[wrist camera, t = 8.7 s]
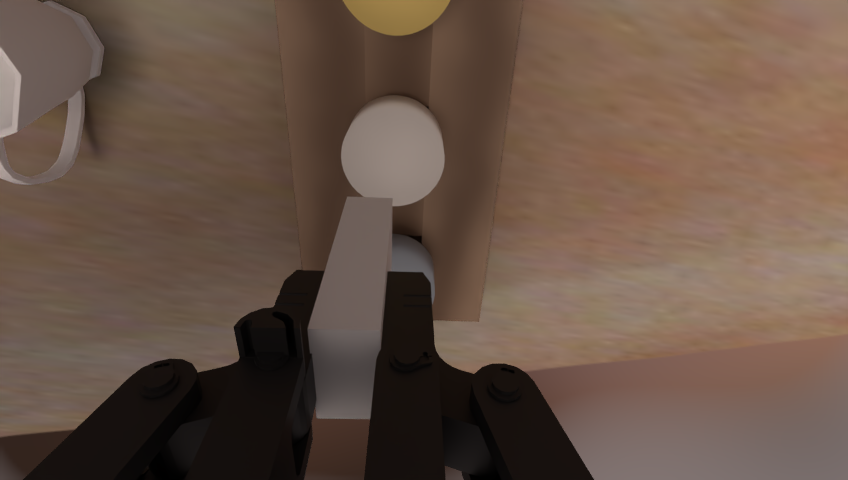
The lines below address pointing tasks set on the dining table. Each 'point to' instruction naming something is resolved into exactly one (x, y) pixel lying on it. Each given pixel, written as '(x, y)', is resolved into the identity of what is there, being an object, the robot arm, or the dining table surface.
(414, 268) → the slate button
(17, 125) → the cup
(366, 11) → the mustard button
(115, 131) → the dining table surface
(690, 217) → the dining table surface
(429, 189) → the cream button
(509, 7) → the panel
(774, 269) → the dining table surface
